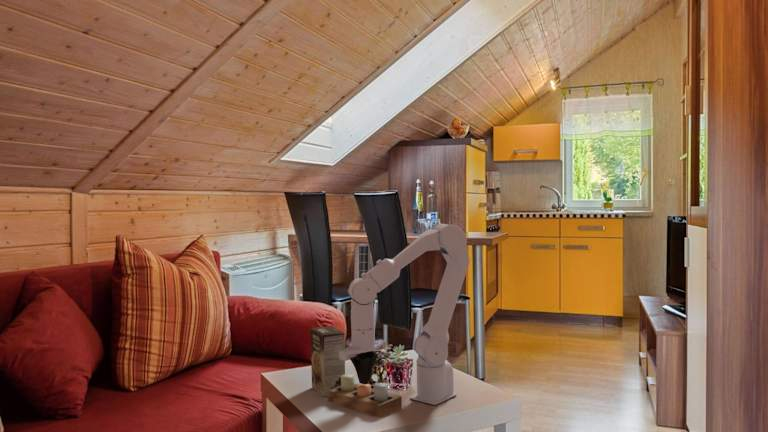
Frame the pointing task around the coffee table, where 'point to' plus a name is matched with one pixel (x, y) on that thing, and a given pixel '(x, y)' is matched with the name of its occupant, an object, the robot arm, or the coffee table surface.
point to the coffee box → (326, 358)
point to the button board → (365, 402)
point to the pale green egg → (347, 383)
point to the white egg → (381, 392)
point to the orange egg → (363, 390)
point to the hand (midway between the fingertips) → (364, 383)
